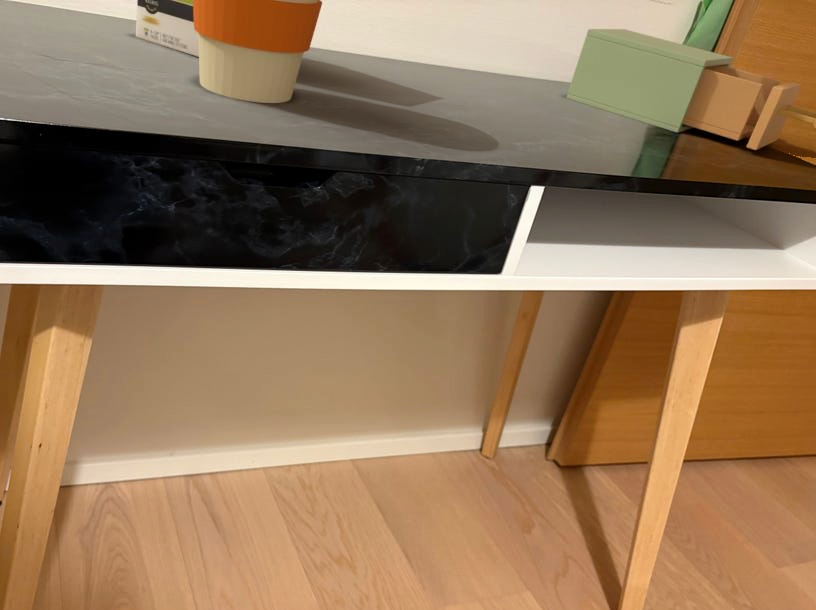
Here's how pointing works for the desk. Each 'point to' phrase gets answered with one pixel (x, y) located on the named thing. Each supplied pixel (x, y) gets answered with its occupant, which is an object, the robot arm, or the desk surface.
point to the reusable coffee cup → (253, 46)
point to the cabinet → (640, 76)
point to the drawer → (744, 105)
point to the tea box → (168, 24)
